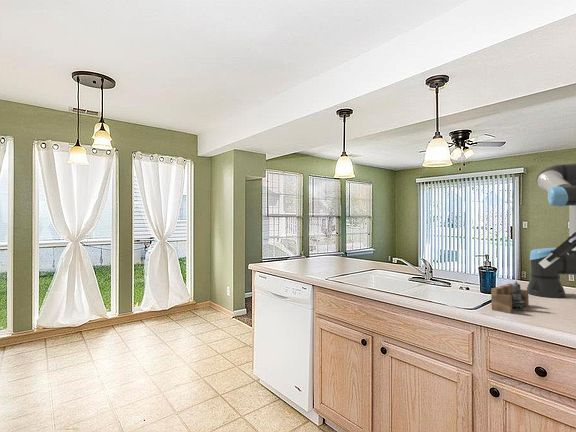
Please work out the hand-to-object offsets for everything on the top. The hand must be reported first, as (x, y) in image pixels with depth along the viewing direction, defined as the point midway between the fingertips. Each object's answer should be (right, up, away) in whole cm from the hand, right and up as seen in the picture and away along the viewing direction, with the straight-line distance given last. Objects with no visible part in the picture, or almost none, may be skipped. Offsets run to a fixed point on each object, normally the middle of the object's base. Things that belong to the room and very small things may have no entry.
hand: (542, 265), depth 130 cm
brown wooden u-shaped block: (-6, -20, +10) cm, 23 cm away
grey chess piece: (-5, -20, +8) cm, 22 cm away
